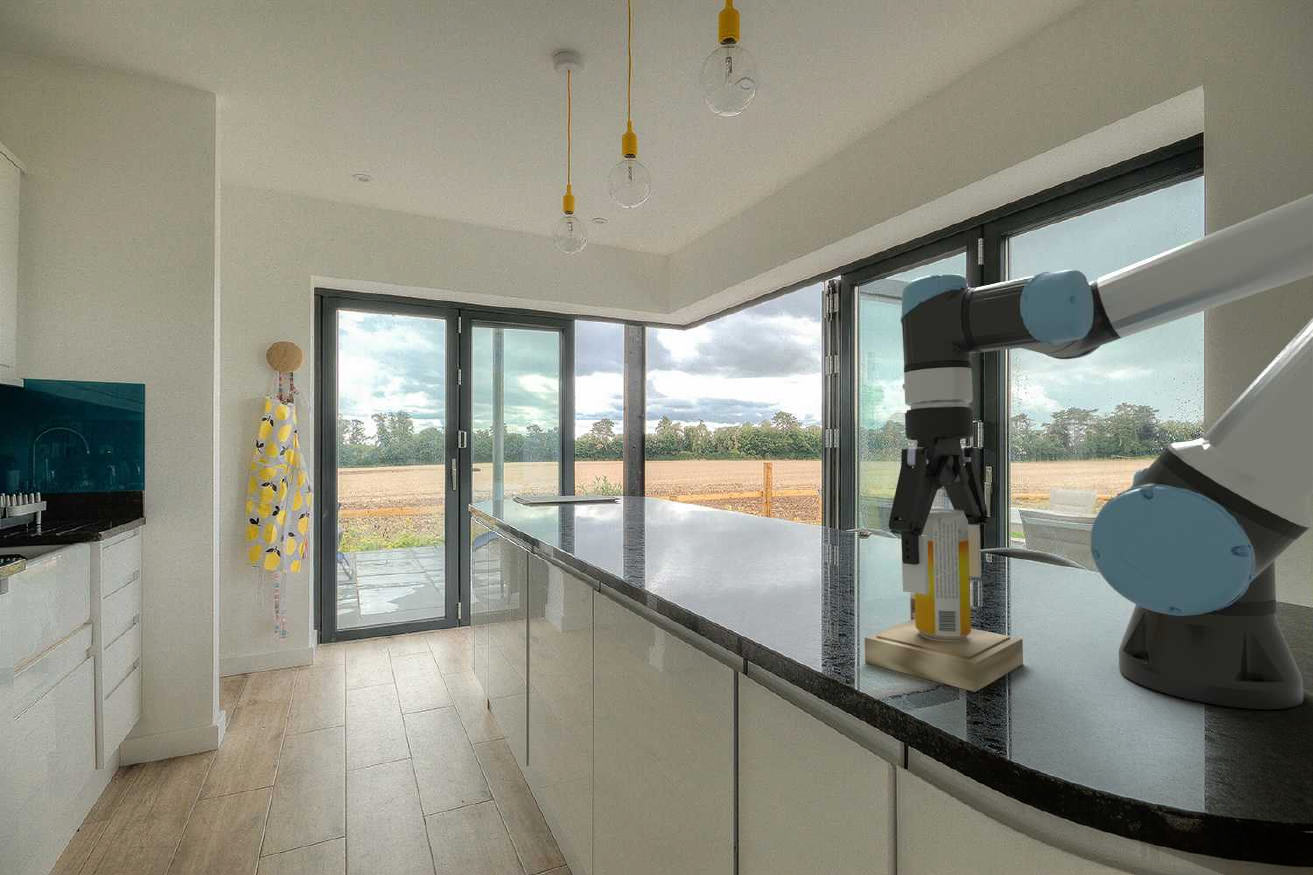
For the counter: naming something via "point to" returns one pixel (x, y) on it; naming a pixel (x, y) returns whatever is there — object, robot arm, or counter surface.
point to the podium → (945, 655)
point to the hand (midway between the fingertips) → (944, 584)
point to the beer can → (946, 579)
